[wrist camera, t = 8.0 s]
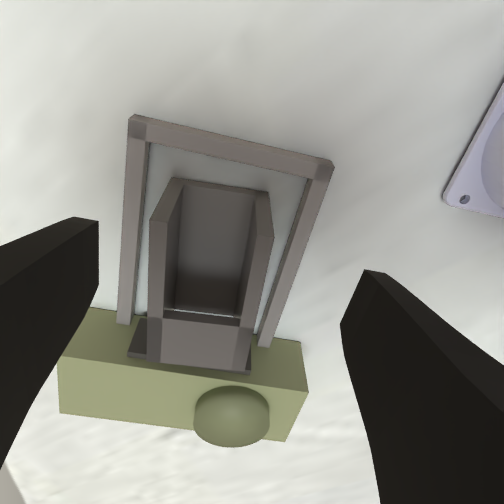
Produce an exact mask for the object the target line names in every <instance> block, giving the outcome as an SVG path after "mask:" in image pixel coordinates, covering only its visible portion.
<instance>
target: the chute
mask: <svg viewBox="0 0 504 504" xmlns="http://www.w3.org/2000/svg"><path fill="white" fill-rule="evenodd" d="M273 241H274V231H273V224H272V216H271V209H270V201H269V194H268V192H264V191H258V190H251V189H244V188H238V187H231V186H225V185H218V184H211V183H205V182H198V181H191V180H185V179H178V178H171V179H170V181H169V183H168V185H167V187H166V189H165V191H164V193H163V195H162V197H161V199H160V201H159V203H158V205H157V206H156V208H155V210H154V212H153V214H152V216H151V218H150V220H149V264H148V309H147V354H146V361H147V362H156V363H166V364H176V365H186V366H195V367H205V368H215V369H224V370H234V371H245V367H246V362H247V358H248V353H249V349H250V344H251V340H252V335H253V331H254V326H255V322H256V317H257V313H258V308H259V304H260V300H261V295H262V291H263V286H264V282H265V277H266V273H267V268H268V264H269V259H270V255H271V250H272V246H273ZM174 309H179V310H188V311H196V312H205V313H213V314H222V315H230V316H233V318H232V317H223V316H214V315H206V314H197V313H189V312H180V311H174Z"/></svg>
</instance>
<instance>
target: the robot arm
mask: <svg viewBox="0 0 504 504" xmlns="http://www.w3.org/2000/svg"><path fill="white" fill-rule="evenodd" d="M463 195H466V198H465V199H464V200H462V201H459V200H460V198H461V197H462V196H463ZM443 200H444V202H445V203H446V204H448V205H450V206H453V207H457V208H462V209H466V210H471V211H475V212H479V213H484V214H488V215H492V216H497V217H501V218H504V83H503V84H502V86H501V88H500V90H499V92H498V94H497V95H496V97H495V99H494V101H493V103H492V105H491V107H490V108H489V110H488V112H487V114H486V116H485V118H484V120H483V121H482V123H481V125H480V127H479V129H478V131H477V133H476V134H475V136H474V138H473V140H472V142H471V144H470V145H469V147H468V149H467V151H466V153H465V155H464V157H463V158H462V160H461V162H460V164H459V166H458V168H457V170H456V171H455V173H454V175H453V177H452V179H451V181H450V183H449V184H448V186H447V188H446V190H445V192H444V194H443ZM98 285H99V221H95V220H90V219H84V218H79V217H71V218H68V219H65V220H63V221H60V222H57V223H55V224H52V225H50V226H48V227H45V228H43V229H41V230H38V231H36V232H33V233H31V234H29V235H26V236H24V237H21V238H19V239H16V240H14V241H12V242H9V243H7V244H4V245H2V246H0V469H1V467H2V465H3V463H4V461H5V458H6V456H7V454H8V452H9V450H10V448H11V446H12V444H13V442H14V439H15V437H16V435H17V433H18V431H19V429H20V427H21V425H22V423H23V421H24V419H25V417H26V415H27V413H28V411H29V409H30V407H31V405H32V403H33V401H34V400H35V398H36V396H37V394H38V393H39V391H40V389H41V387H42V386H43V384H44V383H45V381H46V379H47V378H48V376H49V375H50V373H51V371H52V370H53V368H54V366H55V365H56V363H57V362H58V360H59V358H60V357H61V355H62V354H63V352H64V350H65V349H66V347H67V345H68V344H69V342H70V341H71V339H72V337H73V336H74V334H75V332H76V331H77V329H78V327H79V326H80V324H81V322H82V321H83V319H84V317H85V315H86V313H87V311H88V309H89V307H90V304H91V302H92V300H93V297H94V295H95V293H96V290H97V288H98ZM340 329H341V338H342V345H343V351H344V357H345V361H346V364H347V368H348V371H349V375H350V378H351V382H352V385H353V389H354V392H355V395H356V399H357V402H358V405H359V409H360V412H361V416H362V419H363V422H364V426H365V429H366V433H367V437H368V441H369V445H370V449H371V453H372V459H373V464H374V469H375V475H376V480H377V485H378V491H379V497H380V503H381V504H504V365H503V364H501V363H500V362H498V361H497V360H495V359H494V358H493V357H491V356H490V355H488V354H487V353H486V352H484V351H483V350H482V349H480V348H479V347H478V346H476V345H475V344H474V343H473V342H471V341H470V340H469V339H467V338H466V337H465V336H463V335H462V334H461V333H460V332H458V331H457V330H456V329H454V328H453V327H452V326H451V325H449V324H448V323H447V322H446V321H445V320H443V319H442V318H441V317H440V316H438V315H437V314H436V313H435V312H434V311H432V310H431V309H430V308H429V307H428V306H426V305H425V304H424V303H423V302H422V301H420V300H419V299H418V298H417V297H416V296H414V295H413V294H412V293H411V292H410V291H408V290H407V289H406V288H405V287H403V286H402V285H401V284H400V283H398V282H397V281H396V280H394V279H393V278H392V277H390V276H389V275H387V274H386V273H381V272H376V271H370V270H365V269H364V271H363V274H362V276H361V278H360V280H359V283H358V285H357V287H356V289H355V291H354V294H353V296H352V298H351V300H350V303H349V305H348V307H347V309H346V311H345V314H344V316H343V318H342V320H341V323H340Z"/></svg>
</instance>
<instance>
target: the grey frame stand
mask: <svg viewBox="0 0 504 504" xmlns="http://www.w3.org/2000/svg"><path fill="white" fill-rule="evenodd" d="M150 142H152V143H156V144H161V145H165V146H169V147H174V148H178V149H183V150H187V151H191V152H196V153H200V154H205V155H209V156H213V157H218V158H222V159H227V160H231V161H235V162H240V163H244V164H248V165H253V166H257V167H262V168H266V169H270V170H275V171H279V172H284V173H288V174H292V175H297V176H301V177H305V178H308V181H307V184H306V187H305V190H304V193H303V196H302V199H301V202H300V205H299V208H298V211H297V214H296V217H295V220H294V223H293V226H292V229H291V232H290V236H289V239H288V242H287V245H286V248H285V251H284V254H283V257H282V260H281V263H280V266H279V269H278V272H277V275H276V278H275V281H274V284H273V287H272V290H271V293H270V296H269V299H268V302H267V305H266V308H265V311H264V314H263V318H262V321H261V324H260V327H259V330H258V333H257V335H254V334H253V335H252V340H251V344H250V349H249V353H248V358H247V362H246V367H245V371H234V370H224V369H215V368H205V367H195V366H186V365H176V364H166V363H156V362H147V361H146V354H147V317H146V316H140V315H134V309H135V298H136V287H137V276H138V265H139V255H140V244H141V233H142V222H143V211H144V200H145V189H146V178H147V167H148V156H149V145H150ZM334 168H335V167H334V165H333V164H332V162H331V161H330V160H325V159H321V158H317V157H313V156H308V155H304V154H300V153H296V152H291V151H287V150H283V149H279V148H275V147H270V146H266V145H262V144H258V143H253V142H249V141H245V140H241V139H236V138H232V137H228V136H224V135H220V134H215V133H211V132H207V131H203V130H198V129H194V128H190V127H186V126H181V125H177V124H173V123H169V122H165V121H160V120H156V119H152V118H148V117H143V116H139V115H135V114H134V115H133V116H132V117H130V118H129V119H128V136H127V152H126V169H125V186H124V203H123V219H122V236H121V253H120V269H119V286H118V303H117V312H116V311H110V310H104V309H98V308H92V307H89V309H88V311H87V313H86V315H85V317H84V319H83V321H82V322H81V324H80V326H79V327H78V329H77V331H76V332H75V334H74V336H73V337H72V339H71V341H70V342H69V344H68V345H67V347H66V349H65V350H64V352H63V354H62V355H61V357H60V358H59V360H58V362H57V374H58V392H59V410H60V413H63V414H70V415H78V416H86V417H94V418H101V419H109V420H117V421H125V422H133V423H140V424H148V425H156V426H164V427H171V428H179V429H187V430H195V432H196V433H197V435H198V436H199V437H200V438H202V439H203V440H205V441H206V442H208V443H210V444H213V445H217V446H221V447H243V446H247V445H250V444H253V443H255V442H257V441H259V440H261V439H265V440H272V441H280V442H285V441H286V439H287V437H288V435H289V433H290V431H291V428H292V426H293V424H294V422H295V420H296V418H297V416H298V414H299V412H300V410H301V408H302V406H303V404H304V401H305V399H306V397H307V395H308V393H309V391H308V385H307V379H306V374H305V368H304V362H303V356H302V350H301V344H300V342H296V341H290V340H284V339H278V338H273V336H274V334H275V331H276V328H277V325H278V323H279V320H280V317H281V314H282V312H283V309H284V306H285V303H286V300H287V298H288V295H289V292H290V289H291V287H292V284H293V281H294V278H295V276H296V273H297V270H298V267H299V265H300V262H301V259H302V256H303V254H304V251H305V248H306V245H307V242H308V240H309V237H310V234H311V231H312V229H313V226H314V223H315V220H316V218H317V215H318V212H319V209H320V207H321V204H322V201H323V198H324V196H325V193H326V190H327V187H328V185H329V182H330V179H331V176H332V173H333V171H334Z"/></svg>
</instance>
